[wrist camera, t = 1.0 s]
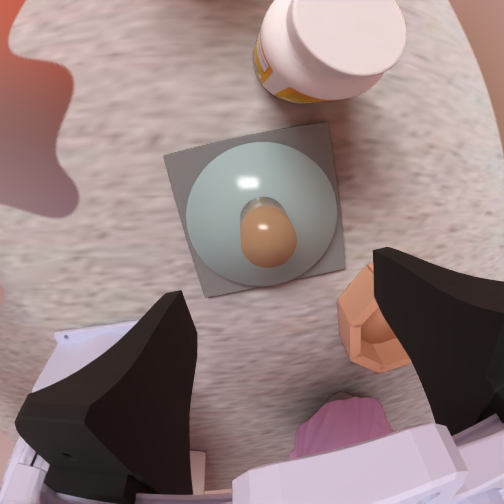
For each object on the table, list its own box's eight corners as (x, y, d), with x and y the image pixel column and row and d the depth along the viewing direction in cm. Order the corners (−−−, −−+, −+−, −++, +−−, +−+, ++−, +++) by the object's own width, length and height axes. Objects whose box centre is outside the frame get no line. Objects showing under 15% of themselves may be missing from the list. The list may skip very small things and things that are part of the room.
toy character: (277, 386, 27) (308, 603, 9) (385, 362, 27) (468, 550, 9) (288, 448, 32) (311, 601, 14) (373, 429, 32) (420, 571, 14)
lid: (209, 291, 22) (204, 331, 18) (171, 160, 18) (153, 174, 14) (339, 264, 22) (360, 298, 18) (322, 129, 18) (346, 134, 14)
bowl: (340, 355, 26) (350, 381, 23) (334, 271, 22) (348, 295, 19) (425, 330, 26) (441, 352, 23) (433, 247, 22) (455, 266, 19)
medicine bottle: (149, 466, 34) (138, 543, 23) (145, 442, 31) (130, 530, 20) (202, 474, 34) (200, 551, 24) (205, 450, 32) (203, 541, 21)
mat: (205, 294, 23) (205, 297, 22) (164, 155, 18) (163, 156, 18) (343, 265, 22) (345, 268, 22) (325, 121, 18) (327, 122, 18)
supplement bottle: (357, 68, 17) (450, 45, 8) (297, 121, 18) (354, 132, 9) (297, 7, 15) (347, -66, 6) (233, 60, 16) (231, 10, 7)
